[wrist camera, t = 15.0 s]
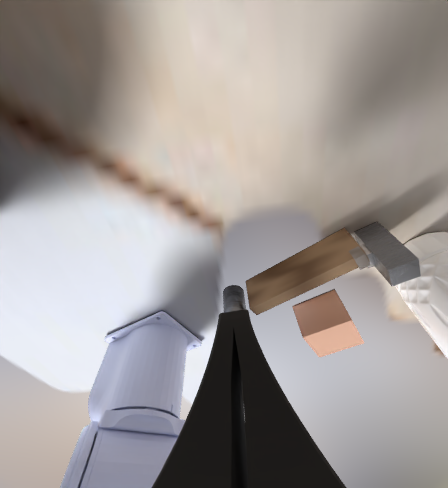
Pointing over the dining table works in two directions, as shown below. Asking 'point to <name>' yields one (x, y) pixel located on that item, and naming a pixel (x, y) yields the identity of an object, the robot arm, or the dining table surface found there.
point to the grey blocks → (379, 254)
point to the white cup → (430, 286)
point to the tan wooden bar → (305, 271)
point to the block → (326, 324)
